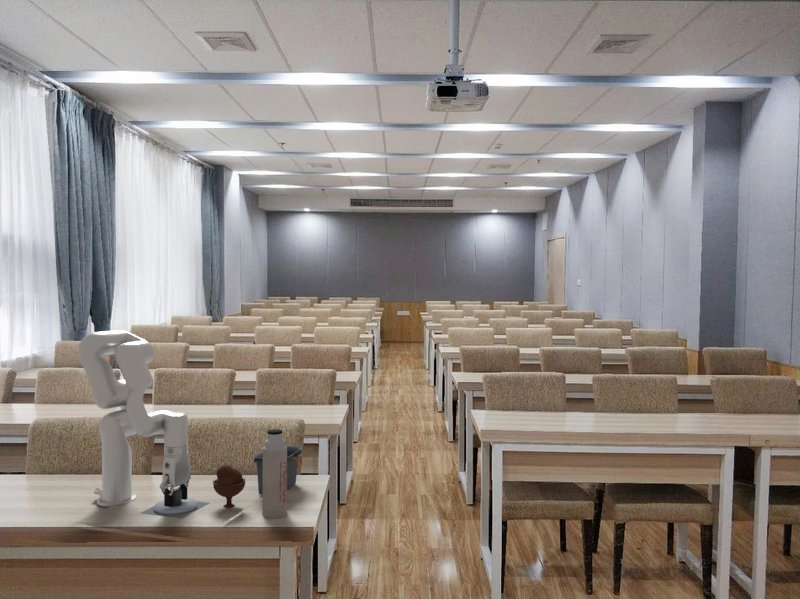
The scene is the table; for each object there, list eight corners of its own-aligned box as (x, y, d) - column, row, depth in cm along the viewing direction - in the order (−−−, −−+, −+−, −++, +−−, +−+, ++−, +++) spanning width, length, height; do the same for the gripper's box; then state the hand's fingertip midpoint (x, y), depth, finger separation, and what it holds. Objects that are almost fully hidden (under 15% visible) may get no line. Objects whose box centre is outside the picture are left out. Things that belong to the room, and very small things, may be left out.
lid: (144, 512, 220) (144, 494, 220) (170, 499, 234) (170, 482, 234) (182, 516, 216) (182, 498, 216) (205, 503, 230) (205, 486, 230)
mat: (140, 516, 220) (140, 513, 220) (169, 501, 235) (169, 498, 235) (182, 521, 215) (182, 518, 215) (209, 505, 231) (209, 502, 231)
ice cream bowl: (226, 516, 220) (227, 471, 220) (205, 509, 227) (206, 465, 226) (252, 508, 228) (252, 464, 228) (231, 501, 235) (231, 459, 235)
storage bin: (272, 480, 262) (272, 443, 261) (309, 482, 258) (310, 445, 258) (249, 496, 241) (249, 457, 240) (289, 500, 238) (290, 459, 237)
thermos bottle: (291, 512, 224) (292, 429, 224) (275, 519, 217) (275, 433, 217) (273, 508, 228) (274, 426, 228) (257, 515, 222) (257, 430, 221)
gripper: (170, 457, 215) (170, 512, 216) (200, 445, 232) (200, 496, 232) (150, 455, 217) (150, 509, 218) (181, 443, 234) (181, 494, 234)
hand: (176, 502), depth 225 cm, fingers open, 7 cm apart
